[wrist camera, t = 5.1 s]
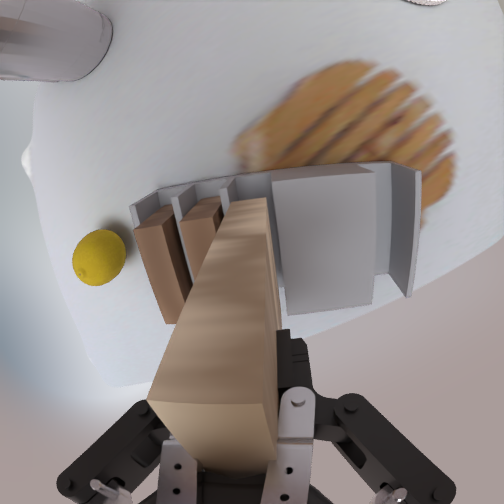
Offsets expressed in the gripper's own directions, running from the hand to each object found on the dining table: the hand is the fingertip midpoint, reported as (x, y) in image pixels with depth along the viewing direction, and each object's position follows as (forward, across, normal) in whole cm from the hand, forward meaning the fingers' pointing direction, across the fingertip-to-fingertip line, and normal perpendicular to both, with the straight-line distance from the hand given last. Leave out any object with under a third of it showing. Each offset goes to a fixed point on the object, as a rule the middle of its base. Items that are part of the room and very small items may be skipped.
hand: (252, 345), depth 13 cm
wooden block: (+9, 0, 0) cm, 9 cm away
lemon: (+17, +17, -1) cm, 24 cm away
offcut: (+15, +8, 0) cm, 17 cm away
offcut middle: (+15, +4, 0) cm, 15 cm away
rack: (+16, -2, 0) cm, 17 cm away
